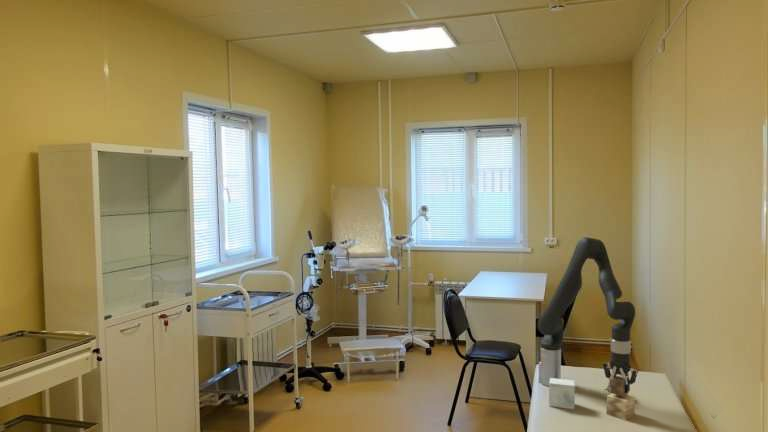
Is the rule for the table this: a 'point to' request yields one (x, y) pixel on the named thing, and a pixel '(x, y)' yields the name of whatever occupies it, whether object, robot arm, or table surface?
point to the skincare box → (562, 393)
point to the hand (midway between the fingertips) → (619, 390)
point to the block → (618, 386)
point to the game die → (609, 388)
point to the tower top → (621, 401)
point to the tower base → (620, 412)
